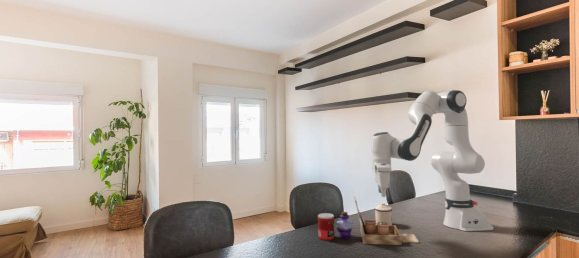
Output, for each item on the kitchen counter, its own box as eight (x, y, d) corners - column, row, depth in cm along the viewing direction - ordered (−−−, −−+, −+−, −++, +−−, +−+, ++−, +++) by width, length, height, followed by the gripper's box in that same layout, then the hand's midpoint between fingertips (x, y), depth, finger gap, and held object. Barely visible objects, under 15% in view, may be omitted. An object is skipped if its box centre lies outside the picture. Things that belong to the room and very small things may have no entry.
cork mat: (413, 235, 141) (413, 234, 141) (419, 243, 131) (419, 241, 131) (398, 234, 142) (398, 233, 142) (403, 242, 133) (403, 241, 133)
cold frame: (395, 233, 145) (394, 193, 145) (402, 245, 130) (400, 201, 130) (354, 232, 148) (353, 193, 148) (356, 243, 133) (355, 200, 133)
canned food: (330, 241, 136) (330, 218, 136) (315, 238, 140) (315, 216, 140) (337, 236, 142) (336, 214, 142) (322, 234, 146) (321, 212, 147)
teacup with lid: (396, 226, 155) (395, 204, 155) (380, 227, 153) (380, 205, 153) (384, 219, 167) (383, 199, 167) (369, 221, 165) (369, 200, 165)
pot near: (388, 235, 141) (388, 221, 141) (390, 239, 135) (390, 225, 135) (376, 234, 142) (376, 221, 142) (378, 239, 136) (377, 224, 136)
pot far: (375, 232, 145) (375, 219, 145) (377, 236, 140) (376, 222, 140) (364, 231, 146) (363, 218, 146) (365, 235, 141) (364, 222, 141)
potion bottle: (335, 233, 146) (334, 210, 146) (352, 233, 146) (351, 209, 146) (337, 240, 137) (336, 215, 138) (355, 240, 137) (354, 214, 137)
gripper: (372, 163, 150) (372, 190, 150) (377, 168, 130) (378, 198, 130) (384, 163, 149) (385, 190, 149) (392, 168, 129) (392, 199, 129)
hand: (381, 194), depth 139 cm, fingers open, 8 cm apart
